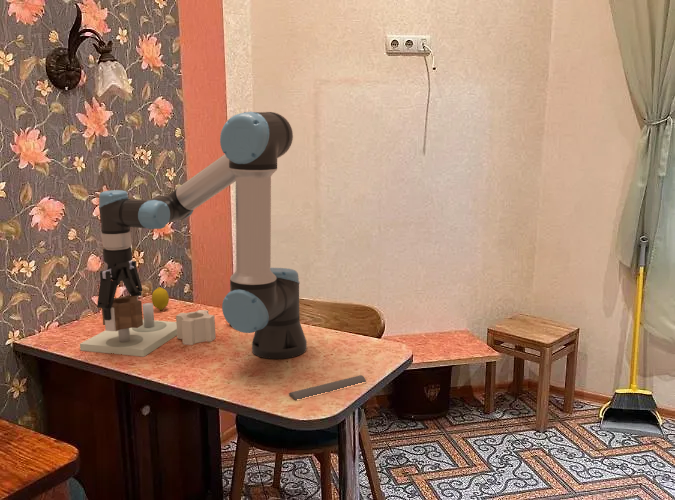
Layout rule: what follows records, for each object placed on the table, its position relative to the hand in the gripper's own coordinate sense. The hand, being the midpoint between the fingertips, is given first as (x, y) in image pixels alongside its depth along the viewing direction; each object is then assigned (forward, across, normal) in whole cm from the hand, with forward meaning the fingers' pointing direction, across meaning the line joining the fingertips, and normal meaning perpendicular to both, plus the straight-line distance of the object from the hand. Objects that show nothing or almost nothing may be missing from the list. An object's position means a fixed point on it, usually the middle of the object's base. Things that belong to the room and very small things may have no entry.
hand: (122, 324), depth 186 cm
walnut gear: (0, 0, 0) cm, 0 cm away
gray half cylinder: (+7, +13, +64) cm, 66 cm away
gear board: (+7, -7, -1) cm, 10 cm away
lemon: (+7, -35, -9) cm, 37 cm away
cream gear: (+7, -12, +16) cm, 21 cm away
